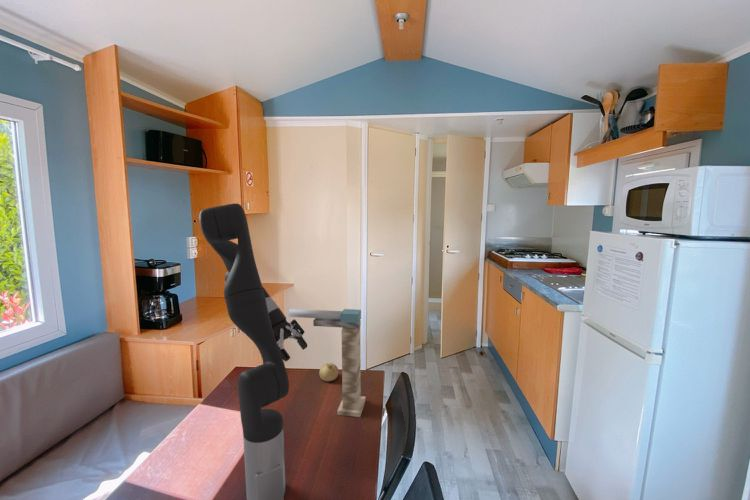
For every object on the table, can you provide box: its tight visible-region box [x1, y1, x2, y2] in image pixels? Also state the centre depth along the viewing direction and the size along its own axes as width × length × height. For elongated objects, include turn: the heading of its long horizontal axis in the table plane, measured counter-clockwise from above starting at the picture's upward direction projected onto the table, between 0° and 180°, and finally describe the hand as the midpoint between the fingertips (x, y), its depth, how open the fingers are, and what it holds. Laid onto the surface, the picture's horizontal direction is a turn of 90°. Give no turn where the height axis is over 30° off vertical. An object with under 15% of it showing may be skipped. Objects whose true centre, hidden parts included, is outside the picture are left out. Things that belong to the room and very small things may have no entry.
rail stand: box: [312, 318, 366, 418], centre depth 118 cm, size 17×10×32 cm, turn 81°
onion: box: [318, 362, 339, 382], centre depth 139 cm, size 8×8×7 cm
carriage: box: [288, 308, 362, 323], centre depth 116 cm, size 25×5×3 cm, turn 81°
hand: (297, 353), depth 109 cm, fingers open, 8 cm apart
